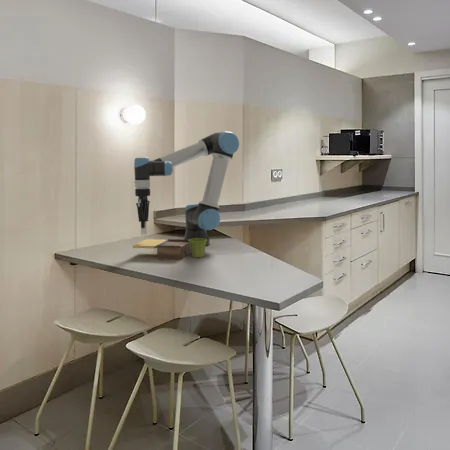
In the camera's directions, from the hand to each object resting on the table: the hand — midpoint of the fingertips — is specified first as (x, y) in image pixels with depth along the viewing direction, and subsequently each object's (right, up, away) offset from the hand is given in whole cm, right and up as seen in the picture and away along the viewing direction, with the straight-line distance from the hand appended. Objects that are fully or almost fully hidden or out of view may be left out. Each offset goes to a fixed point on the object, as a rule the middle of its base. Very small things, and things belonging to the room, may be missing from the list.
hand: (144, 234), depth 257 cm
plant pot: (+28, -12, -4) cm, 31 cm away
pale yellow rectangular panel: (+9, -5, -1) cm, 10 cm away
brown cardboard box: (+16, -11, -2) cm, 19 cm away
